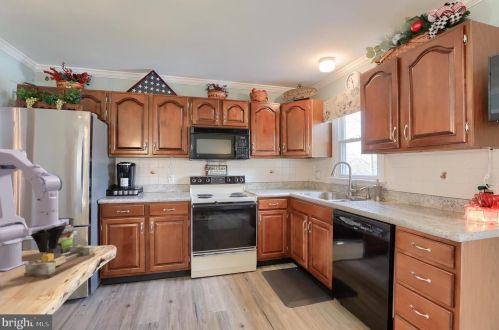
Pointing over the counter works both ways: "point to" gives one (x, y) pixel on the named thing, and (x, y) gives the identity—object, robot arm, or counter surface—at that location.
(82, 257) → the rail board
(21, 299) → the counter surface
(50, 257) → the button
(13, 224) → the robot arm
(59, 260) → the carriage
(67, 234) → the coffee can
